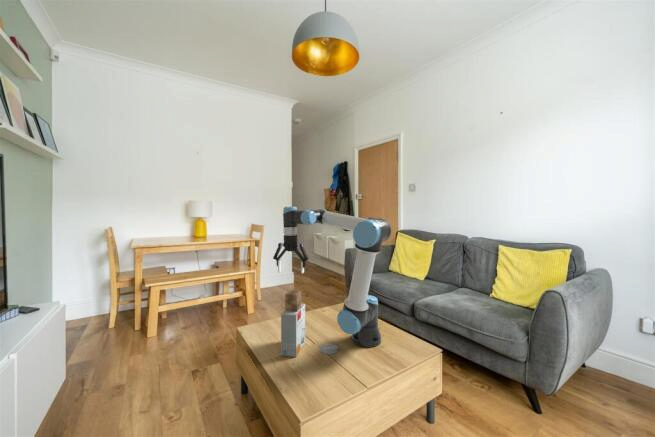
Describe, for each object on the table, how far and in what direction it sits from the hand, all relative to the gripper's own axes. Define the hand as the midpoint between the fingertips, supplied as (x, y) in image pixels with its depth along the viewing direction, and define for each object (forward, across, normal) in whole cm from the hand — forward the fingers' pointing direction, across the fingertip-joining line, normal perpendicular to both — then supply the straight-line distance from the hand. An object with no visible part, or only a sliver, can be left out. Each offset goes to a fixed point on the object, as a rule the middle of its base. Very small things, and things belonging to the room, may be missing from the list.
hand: (291, 272), depth 149 cm
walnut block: (+13, -8, +18) cm, 23 cm away
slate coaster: (+33, -25, +15) cm, 44 cm away
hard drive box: (+33, -8, +18) cm, 38 cm away
